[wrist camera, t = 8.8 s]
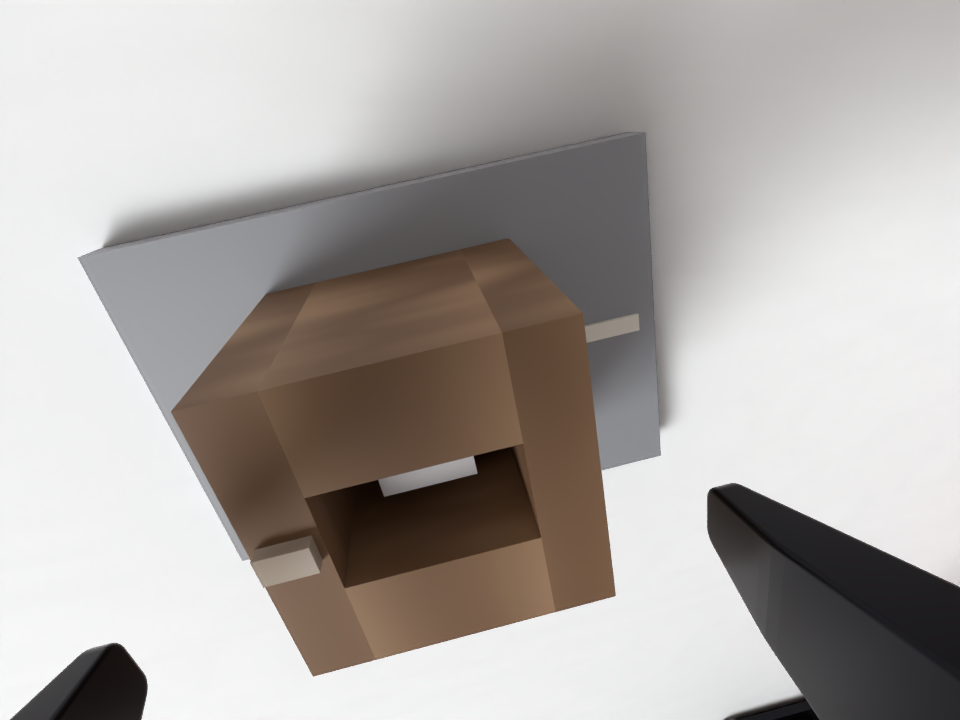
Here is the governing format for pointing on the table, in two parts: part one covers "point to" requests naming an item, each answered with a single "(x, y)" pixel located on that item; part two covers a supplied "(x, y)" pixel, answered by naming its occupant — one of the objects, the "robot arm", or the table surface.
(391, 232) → the switch plate
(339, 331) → the hollow wooden cube
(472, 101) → the table surface
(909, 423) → the table surface
